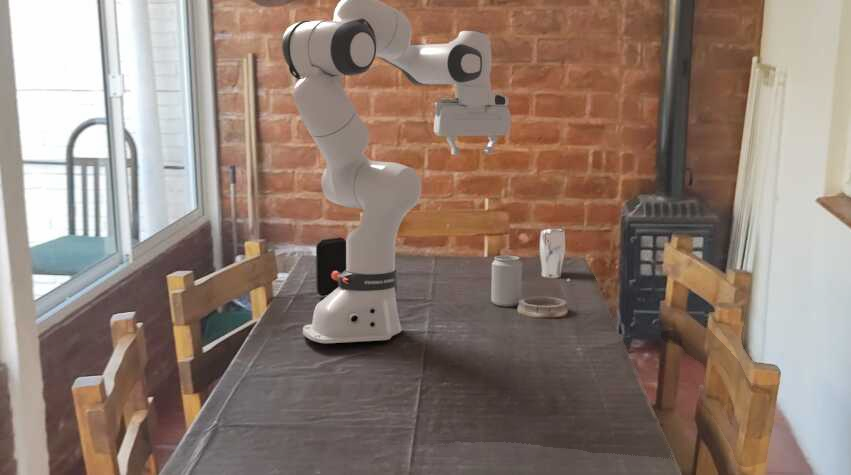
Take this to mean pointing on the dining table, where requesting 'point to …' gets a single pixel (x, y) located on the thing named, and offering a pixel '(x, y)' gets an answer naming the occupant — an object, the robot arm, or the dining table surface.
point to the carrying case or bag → (329, 263)
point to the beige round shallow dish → (542, 307)
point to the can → (506, 281)
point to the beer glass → (552, 252)
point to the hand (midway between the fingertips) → (472, 154)
